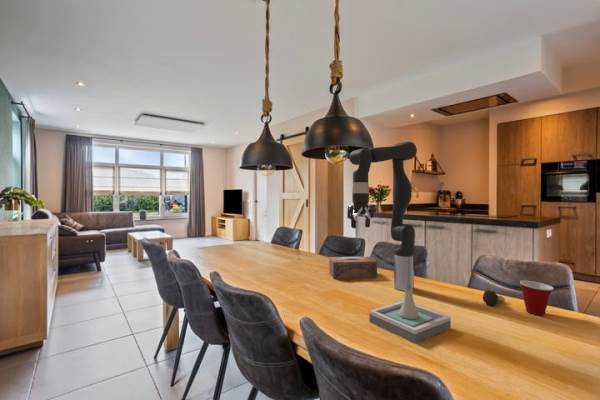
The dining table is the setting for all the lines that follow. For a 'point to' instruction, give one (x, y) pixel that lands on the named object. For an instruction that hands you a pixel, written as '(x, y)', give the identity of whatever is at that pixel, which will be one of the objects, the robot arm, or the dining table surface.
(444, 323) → the grey square tray
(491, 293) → the figurine
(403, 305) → the flask
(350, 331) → the dining table surface
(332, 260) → the tissue box cover
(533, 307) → the plastic cup
